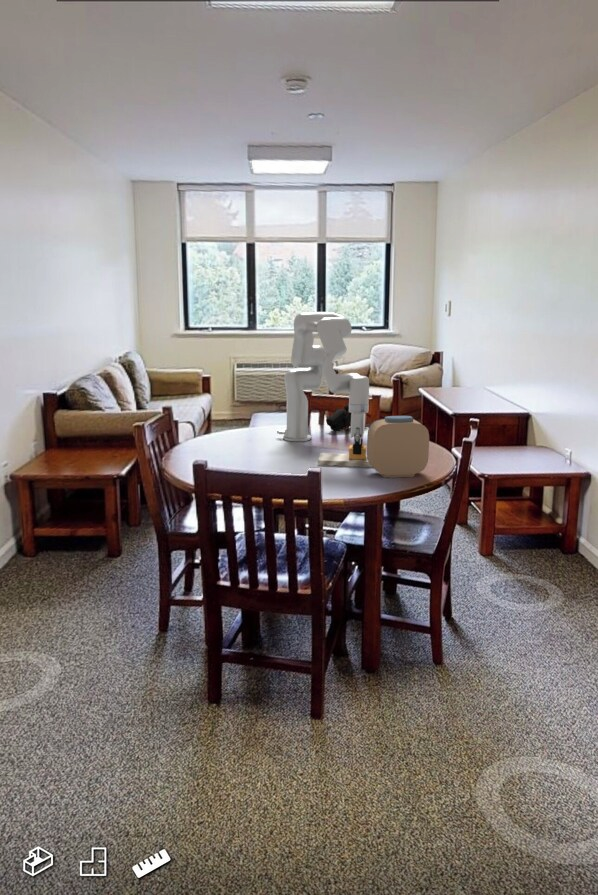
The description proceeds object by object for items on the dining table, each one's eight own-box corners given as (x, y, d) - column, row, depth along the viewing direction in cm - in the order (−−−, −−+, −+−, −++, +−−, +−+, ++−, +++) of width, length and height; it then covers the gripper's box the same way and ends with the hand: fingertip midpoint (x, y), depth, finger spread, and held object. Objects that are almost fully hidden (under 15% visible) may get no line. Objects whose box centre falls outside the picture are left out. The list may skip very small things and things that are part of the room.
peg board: (317, 465, 265) (318, 445, 263) (320, 457, 276) (321, 438, 275) (375, 467, 262) (375, 446, 260) (375, 459, 274) (376, 440, 272)
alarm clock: (419, 470, 258) (422, 413, 253) (427, 476, 249) (430, 418, 244) (366, 471, 256) (367, 414, 251) (372, 478, 246) (373, 419, 241)
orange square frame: (348, 458, 266) (349, 448, 265) (349, 454, 272) (350, 444, 271) (365, 459, 265) (365, 449, 264) (366, 455, 271) (366, 445, 270)
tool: (330, 444, 331) (321, 417, 324) (359, 421, 343) (352, 394, 336) (342, 447, 325) (333, 419, 319) (371, 423, 337) (364, 396, 331)
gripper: (350, 404, 273) (349, 445, 277) (347, 411, 256) (346, 456, 260) (369, 404, 272) (368, 446, 276) (367, 412, 255) (366, 457, 259)
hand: (357, 451), depth 268 cm, fingers open, 9 cm apart
